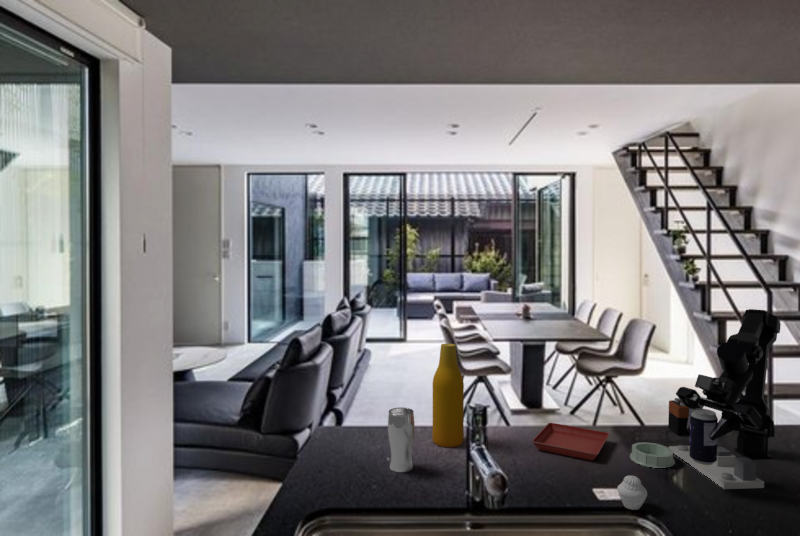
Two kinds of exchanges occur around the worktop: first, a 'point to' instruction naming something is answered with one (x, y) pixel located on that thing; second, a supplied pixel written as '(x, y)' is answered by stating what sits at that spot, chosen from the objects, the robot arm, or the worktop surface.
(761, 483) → the switch panel
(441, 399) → the beer bottle
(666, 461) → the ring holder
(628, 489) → the lidded jar
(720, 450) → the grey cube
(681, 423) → the battery
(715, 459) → the beverage can
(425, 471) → the worktop surface
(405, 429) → the beer glass
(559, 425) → the plant saucer
